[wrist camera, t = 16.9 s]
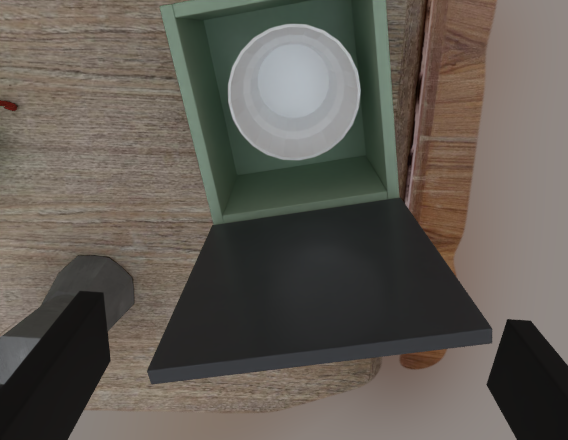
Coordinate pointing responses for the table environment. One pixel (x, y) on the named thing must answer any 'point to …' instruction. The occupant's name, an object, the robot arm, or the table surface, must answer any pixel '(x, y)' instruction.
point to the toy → (8, 105)
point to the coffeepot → (73, 278)
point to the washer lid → (315, 295)
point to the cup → (294, 92)
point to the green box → (249, 160)
